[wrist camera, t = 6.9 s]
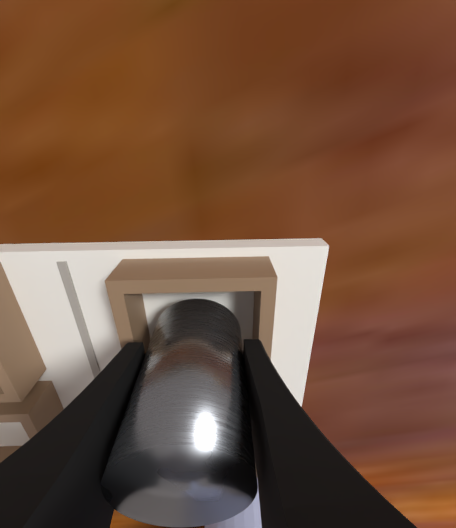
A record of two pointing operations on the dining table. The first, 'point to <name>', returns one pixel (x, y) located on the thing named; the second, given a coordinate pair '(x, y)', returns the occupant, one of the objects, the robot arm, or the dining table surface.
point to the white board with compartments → (140, 311)
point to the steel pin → (186, 424)
